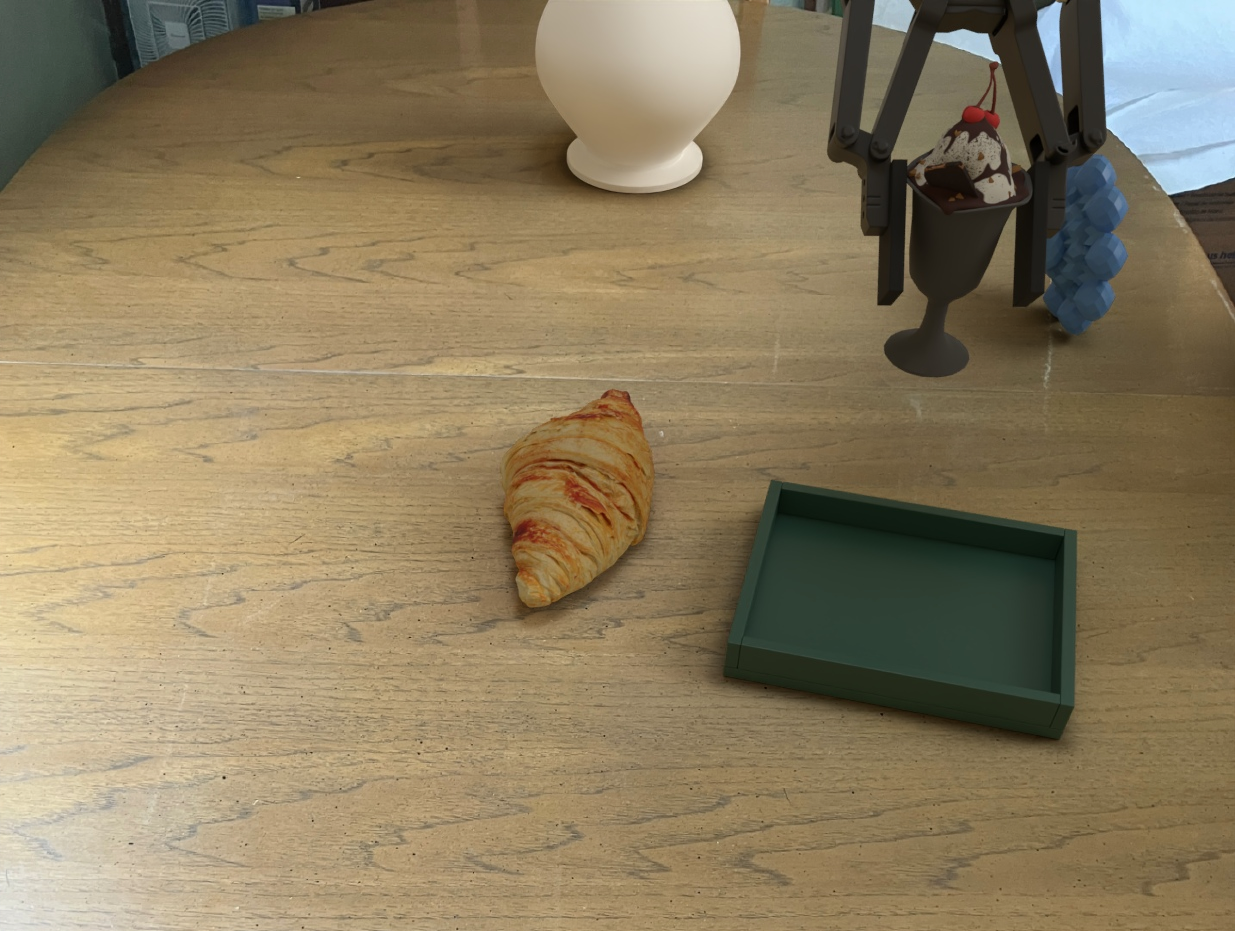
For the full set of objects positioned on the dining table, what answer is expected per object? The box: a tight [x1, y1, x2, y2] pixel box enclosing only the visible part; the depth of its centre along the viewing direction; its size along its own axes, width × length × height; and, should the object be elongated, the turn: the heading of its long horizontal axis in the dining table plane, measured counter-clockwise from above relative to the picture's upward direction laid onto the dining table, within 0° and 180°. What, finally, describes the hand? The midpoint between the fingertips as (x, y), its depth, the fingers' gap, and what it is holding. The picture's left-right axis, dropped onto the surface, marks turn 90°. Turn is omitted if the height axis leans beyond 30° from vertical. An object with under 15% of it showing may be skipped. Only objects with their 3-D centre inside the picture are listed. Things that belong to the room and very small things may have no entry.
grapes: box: [1042, 153, 1130, 336], centre depth 94 cm, size 12×7×12 cm, turn 7°
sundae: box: [883, 60, 1033, 378], centre depth 66 cm, size 7×7×15 cm
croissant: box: [499, 388, 656, 608], centre depth 80 cm, size 21×10×8 cm, turn 166°
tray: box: [722, 479, 1078, 740], centre depth 75 cm, size 20×16×3 cm
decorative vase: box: [534, 0, 741, 194], centre depth 104 cm, size 18×18×25 cm
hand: (959, 298), depth 65 cm, fingers closed on sundae, 7 cm apart
